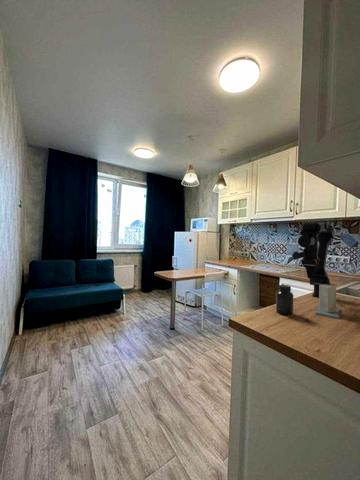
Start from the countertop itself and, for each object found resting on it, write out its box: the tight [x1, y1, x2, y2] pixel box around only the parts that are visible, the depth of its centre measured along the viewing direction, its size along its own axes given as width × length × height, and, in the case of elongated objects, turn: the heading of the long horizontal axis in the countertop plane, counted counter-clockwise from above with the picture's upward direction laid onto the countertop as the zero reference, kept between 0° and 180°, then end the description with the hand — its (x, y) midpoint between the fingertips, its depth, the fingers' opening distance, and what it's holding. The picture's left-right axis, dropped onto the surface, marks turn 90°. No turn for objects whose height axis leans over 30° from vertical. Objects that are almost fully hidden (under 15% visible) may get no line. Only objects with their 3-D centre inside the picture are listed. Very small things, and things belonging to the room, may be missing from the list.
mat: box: [315, 303, 340, 320], centre depth 93 cm, size 14×8×1 cm, turn 142°
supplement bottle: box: [275, 284, 294, 316], centre depth 91 cm, size 7×7×12 cm
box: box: [318, 284, 337, 312], centre depth 93 cm, size 5×4×11 cm
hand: (310, 277), depth 107 cm, fingers open, 9 cm apart
